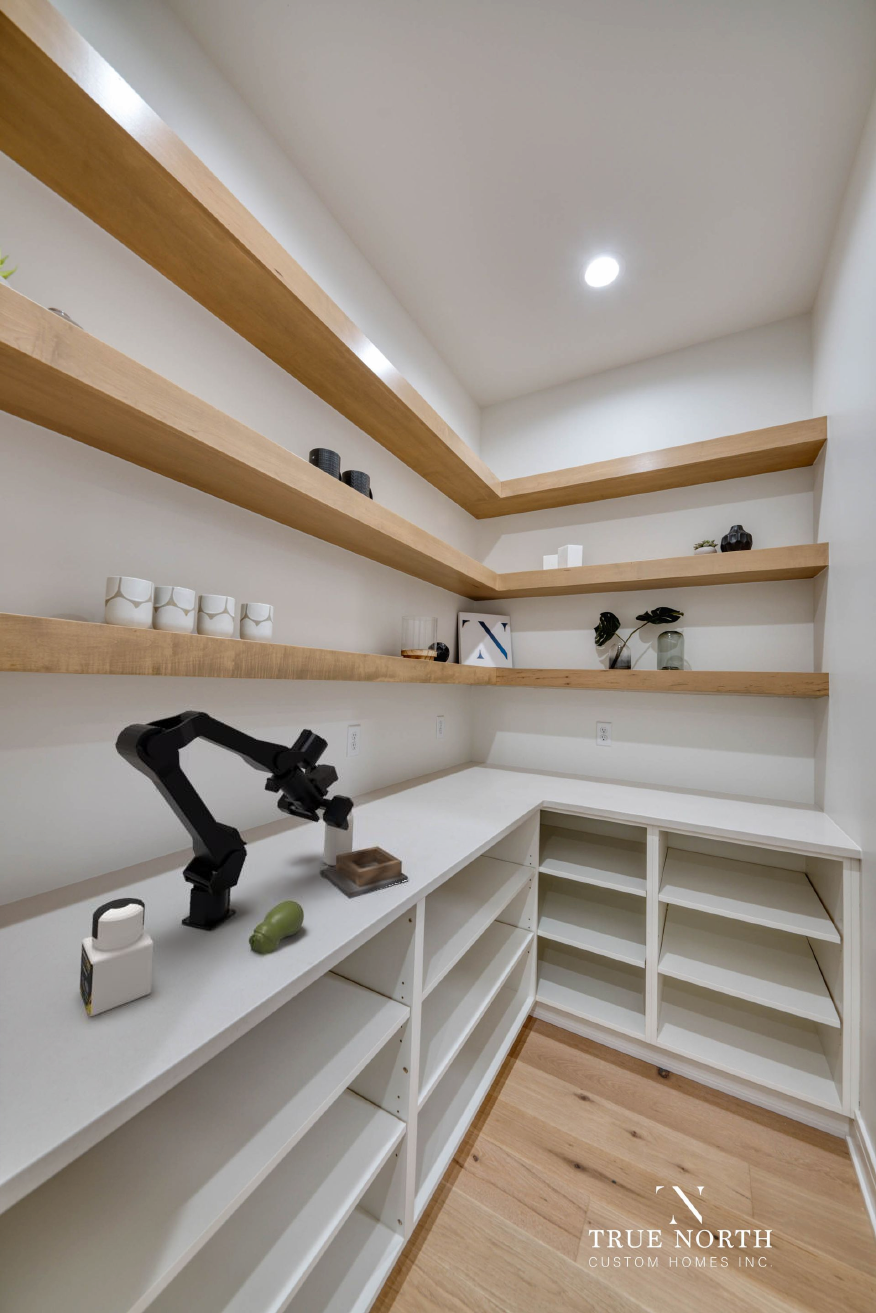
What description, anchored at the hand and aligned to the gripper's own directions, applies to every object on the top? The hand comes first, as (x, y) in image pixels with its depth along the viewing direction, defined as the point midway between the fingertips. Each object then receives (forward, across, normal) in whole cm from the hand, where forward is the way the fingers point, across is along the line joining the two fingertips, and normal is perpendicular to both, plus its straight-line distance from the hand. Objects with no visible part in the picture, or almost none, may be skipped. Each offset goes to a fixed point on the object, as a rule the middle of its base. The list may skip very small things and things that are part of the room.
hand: (332, 824), depth 113 cm
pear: (-13, -15, +26) cm, 32 cm away
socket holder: (+7, -11, +6) cm, 14 cm away
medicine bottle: (-28, -7, +41) cm, 50 cm away
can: (+8, 0, +5) cm, 10 cm away
